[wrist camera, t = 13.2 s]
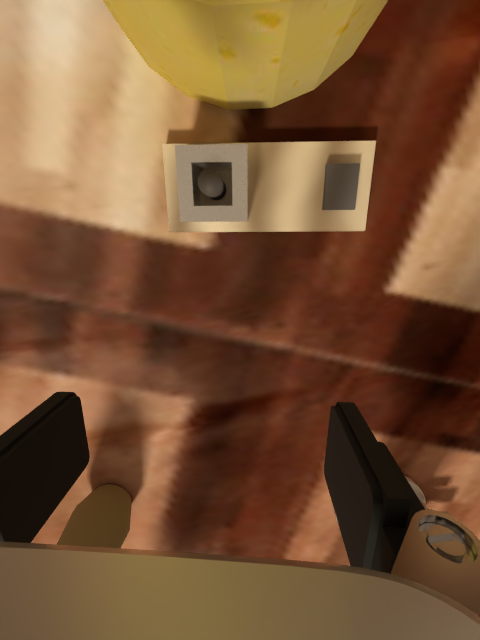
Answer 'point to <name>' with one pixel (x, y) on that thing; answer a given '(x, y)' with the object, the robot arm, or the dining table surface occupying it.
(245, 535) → the dining table surface
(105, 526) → the squeeze bottle
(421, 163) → the dining table surface
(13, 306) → the dining table surface
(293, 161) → the peg board
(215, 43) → the cheese
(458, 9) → the dining table surface
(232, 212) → the link
